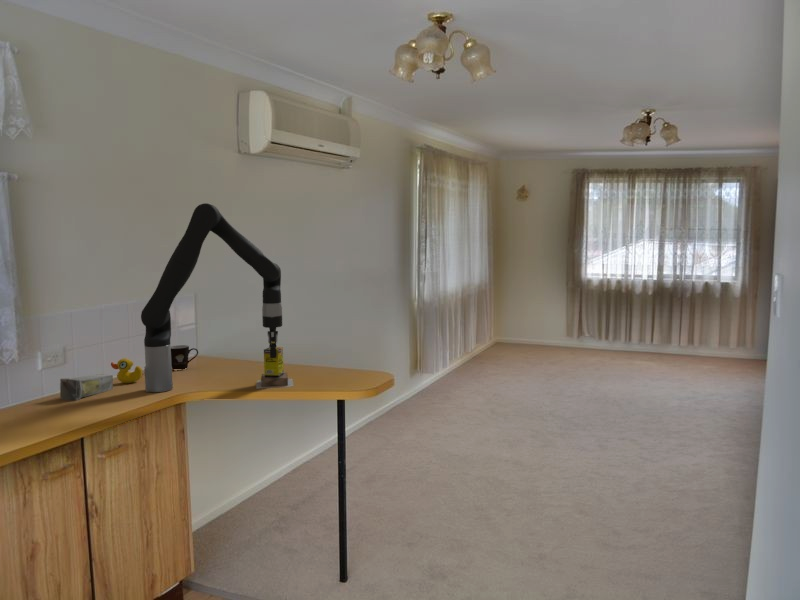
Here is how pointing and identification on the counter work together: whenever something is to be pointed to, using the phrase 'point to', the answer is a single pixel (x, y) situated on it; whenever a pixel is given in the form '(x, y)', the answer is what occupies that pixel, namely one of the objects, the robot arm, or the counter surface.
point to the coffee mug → (180, 356)
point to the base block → (274, 380)
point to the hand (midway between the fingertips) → (273, 355)
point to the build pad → (258, 386)
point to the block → (84, 386)
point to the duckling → (124, 373)
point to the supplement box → (273, 363)
